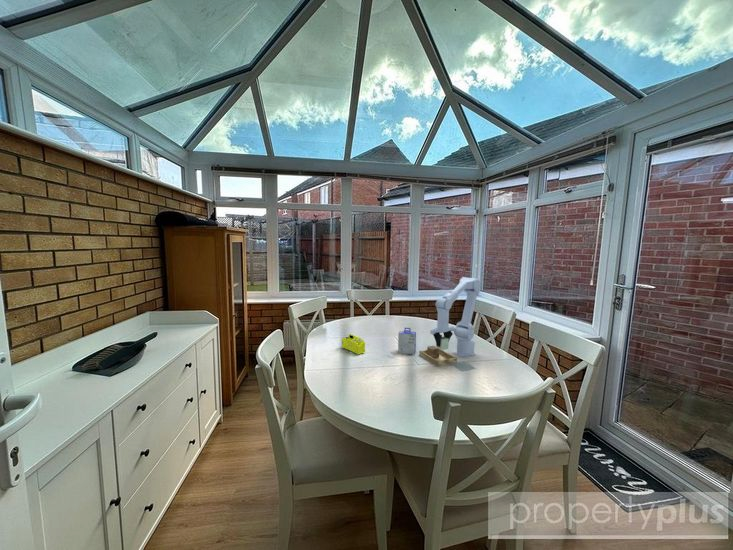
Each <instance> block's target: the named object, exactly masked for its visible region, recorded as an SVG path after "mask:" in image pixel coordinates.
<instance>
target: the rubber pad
mask: <svg viewBox="0 0 733 550" xmlns="http://www.w3.org/2000/svg"><path fill="white" fill-rule="evenodd" d="M449 365H450V366H452V367H454V368H456V369H457V370H459V371H461V372H467V371H470V370H471V371H472V370H475V369H477V367H475V366H473V365H471V364H469V363H468V362H465V361H461V362H457V363H452V364H449Z"/></svg>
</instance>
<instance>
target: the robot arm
mask: <svg viewBox="0 0 733 550" xmlns="http://www.w3.org/2000/svg"><path fill="white" fill-rule="evenodd" d="M481 284H482V283H481V281H480V279H479V278H474V277H466V276H463V277H461V278H460V279H459V282H458V284H457V286H455V288H454V289H450V290H448V291H447V292H446V293H445V294H444V295H443V296H442V297H439V298H437V299H436V302H435V303H434V304H435V305H434V306H435V308H436V312H437V321H436V322H437V323H436V324H437V326H436V328H434V329H433V328H432V329H430V331H429V332H430V335H432V336H433V338H434V340H435V346H436V345H437V346H438V347H440V344H441V337H442V336H444V337H446V338H448V339H449V341H450V339H451V337H452V336H455V338H456V350H453V353H455V354H456V355H459V356H461V357H466V356H474V355H476V353H475V340H474V339H473V338H474V337H475V326H473V324H472V320H473V319H472V318H473V315H474V310H475V306H476V300H477V297H478V294H479V293H480V289H481ZM462 292H465V293H466V294H467V295H466V300H465V303H464V308H463V312H462V317H461V320H460V321H458V322H457V323H456V325H455V326H449V322H450V318H449V317H450V309H451V308H452V306H453V304H454V302H455V301H456V300H457V299H458V298H459V294H461V293H462ZM441 333H443V335H442V334H441ZM453 334H454V335H453Z"/></svg>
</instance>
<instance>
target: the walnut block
mask: <svg viewBox="0 0 733 550" xmlns="http://www.w3.org/2000/svg"><path fill="white" fill-rule="evenodd" d="M426 350H427V355H429V356H430V357H432V358H437V357H439V349H438V348H437V347H436V345H429V346H427V348H426Z"/></svg>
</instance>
